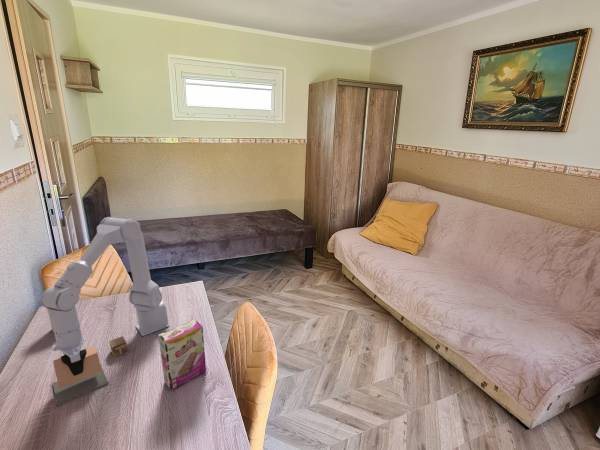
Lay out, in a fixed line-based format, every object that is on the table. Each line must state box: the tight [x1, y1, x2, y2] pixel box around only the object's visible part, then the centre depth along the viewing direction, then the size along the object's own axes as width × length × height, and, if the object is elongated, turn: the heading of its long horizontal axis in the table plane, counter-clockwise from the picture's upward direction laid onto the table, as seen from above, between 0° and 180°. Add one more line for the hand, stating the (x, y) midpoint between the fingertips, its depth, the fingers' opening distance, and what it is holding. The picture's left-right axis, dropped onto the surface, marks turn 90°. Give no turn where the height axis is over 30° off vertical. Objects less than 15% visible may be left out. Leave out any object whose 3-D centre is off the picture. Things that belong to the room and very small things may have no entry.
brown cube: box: [109, 335, 129, 358], centre depth 106 cm, size 4×4×4 cm
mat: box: [52, 363, 109, 407], centre depth 93 cm, size 12×10×1 cm
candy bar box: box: [158, 319, 207, 392], centre depth 94 cm, size 11×5×16 cm, turn 134°
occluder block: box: [52, 345, 101, 389], centre depth 91 cm, size 10×4×6 cm, turn 131°
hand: (77, 369), depth 92 cm, fingers closed on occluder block, 4 cm apart
